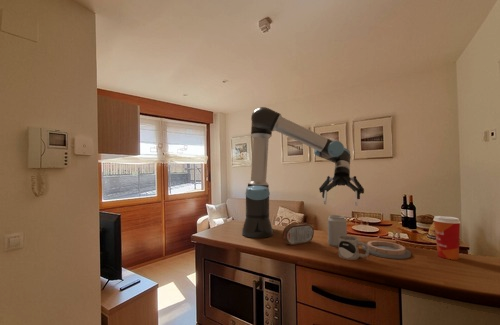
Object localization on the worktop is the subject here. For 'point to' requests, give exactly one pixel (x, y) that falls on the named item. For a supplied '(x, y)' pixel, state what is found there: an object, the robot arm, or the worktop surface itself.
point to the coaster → (407, 255)
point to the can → (336, 228)
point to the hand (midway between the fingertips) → (340, 203)
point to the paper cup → (447, 236)
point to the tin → (298, 233)
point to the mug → (350, 247)
